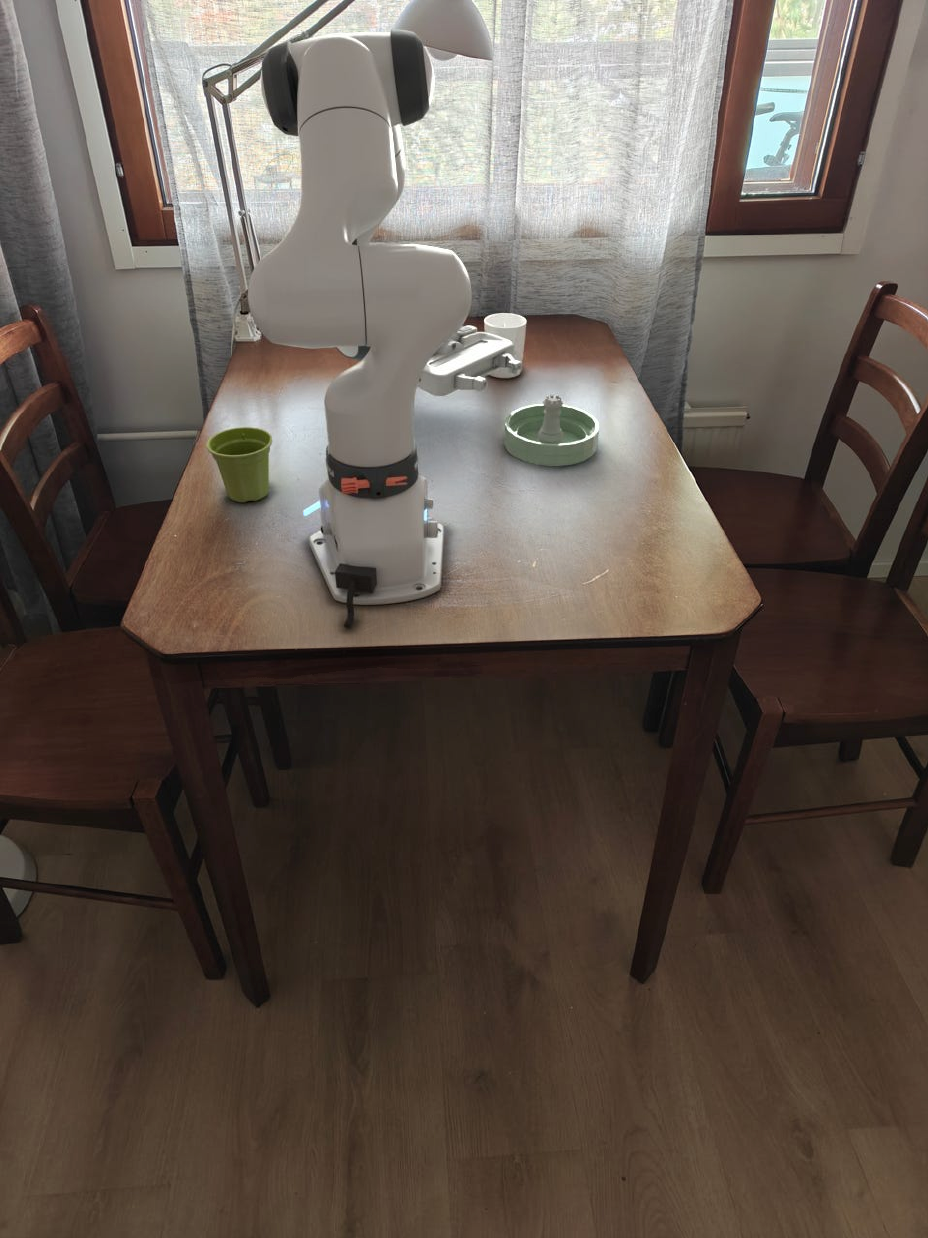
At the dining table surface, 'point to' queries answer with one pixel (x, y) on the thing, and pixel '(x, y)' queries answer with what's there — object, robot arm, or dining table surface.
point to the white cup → (507, 336)
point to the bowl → (524, 445)
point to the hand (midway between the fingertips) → (502, 376)
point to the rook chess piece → (551, 421)
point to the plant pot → (243, 461)
